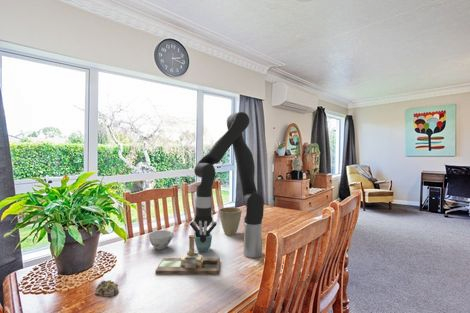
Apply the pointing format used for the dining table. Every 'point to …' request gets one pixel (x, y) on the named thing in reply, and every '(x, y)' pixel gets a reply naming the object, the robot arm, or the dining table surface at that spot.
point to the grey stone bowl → (160, 239)
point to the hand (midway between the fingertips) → (202, 242)
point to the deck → (188, 265)
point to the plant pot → (230, 219)
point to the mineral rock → (107, 288)
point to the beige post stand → (192, 252)
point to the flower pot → (203, 246)
